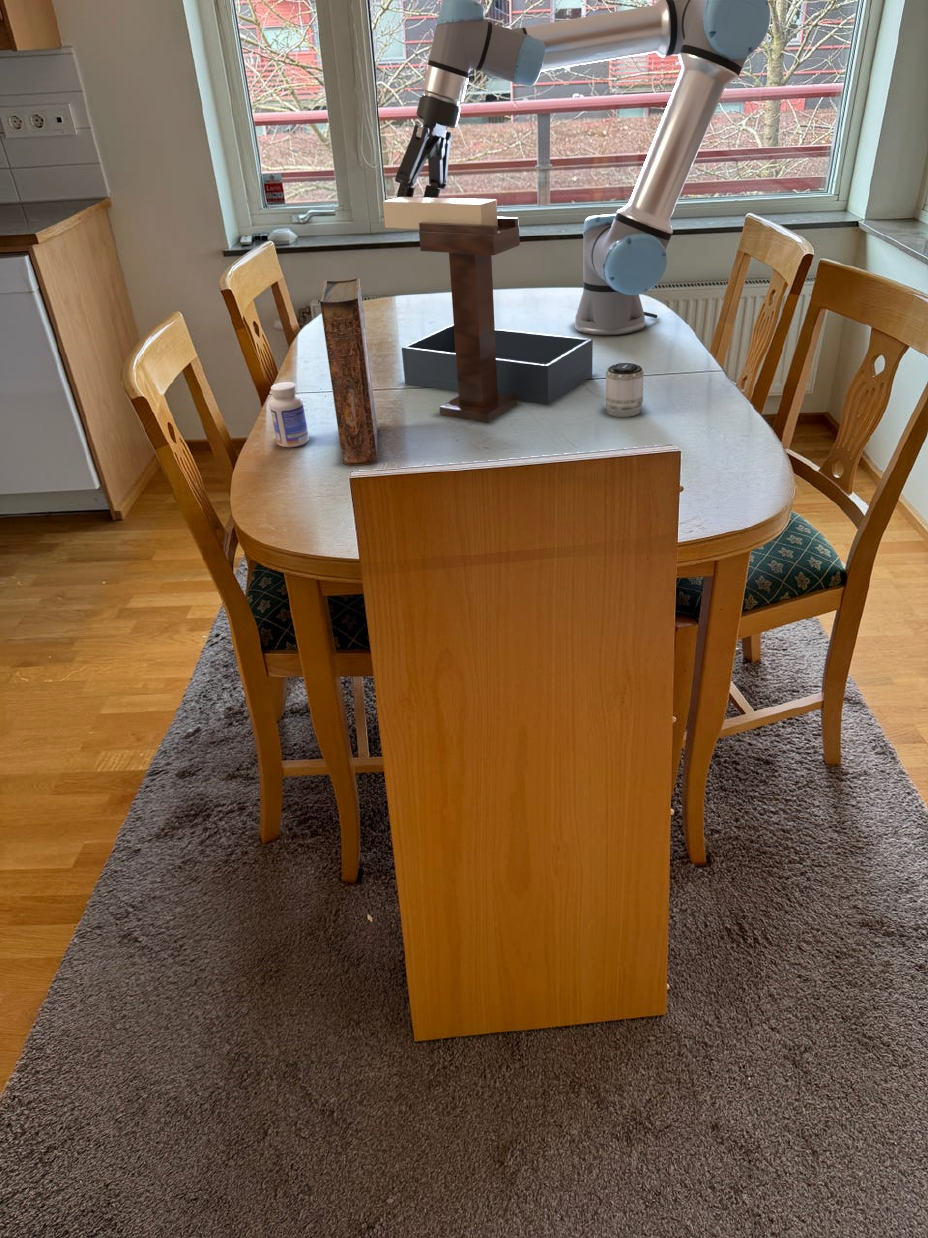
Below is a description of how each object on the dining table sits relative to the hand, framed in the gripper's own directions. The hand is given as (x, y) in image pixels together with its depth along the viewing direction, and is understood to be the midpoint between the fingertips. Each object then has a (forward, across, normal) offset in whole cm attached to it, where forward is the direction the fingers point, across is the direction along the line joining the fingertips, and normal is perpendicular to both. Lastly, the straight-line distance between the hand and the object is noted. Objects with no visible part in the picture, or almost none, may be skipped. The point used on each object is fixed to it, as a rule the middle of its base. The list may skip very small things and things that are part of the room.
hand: (412, 222), depth 173 cm
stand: (+23, +21, +28) cm, 42 cm away
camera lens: (+15, +18, +52) cm, 57 cm away
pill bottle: (+34, +40, +3) cm, 53 cm away
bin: (+21, +5, +26) cm, 34 cm away
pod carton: (-4, +24, +14) cm, 28 cm away
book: (+30, +40, +15) cm, 52 cm away
